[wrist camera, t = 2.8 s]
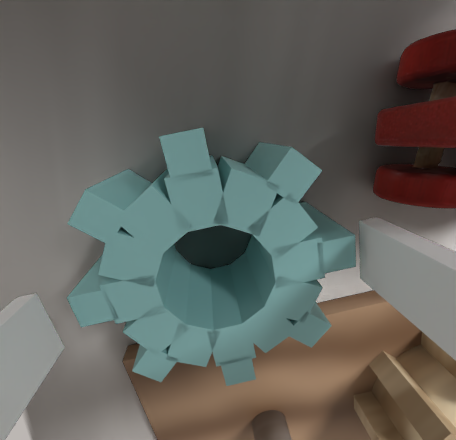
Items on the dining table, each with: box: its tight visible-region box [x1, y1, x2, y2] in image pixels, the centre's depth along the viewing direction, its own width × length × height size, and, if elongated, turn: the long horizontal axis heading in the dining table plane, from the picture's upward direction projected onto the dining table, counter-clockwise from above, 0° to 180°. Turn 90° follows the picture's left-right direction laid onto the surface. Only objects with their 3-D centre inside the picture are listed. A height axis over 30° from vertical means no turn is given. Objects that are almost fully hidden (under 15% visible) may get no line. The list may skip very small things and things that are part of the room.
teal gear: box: [67, 128, 356, 386], centre depth 12 cm, size 11×11×5 cm
